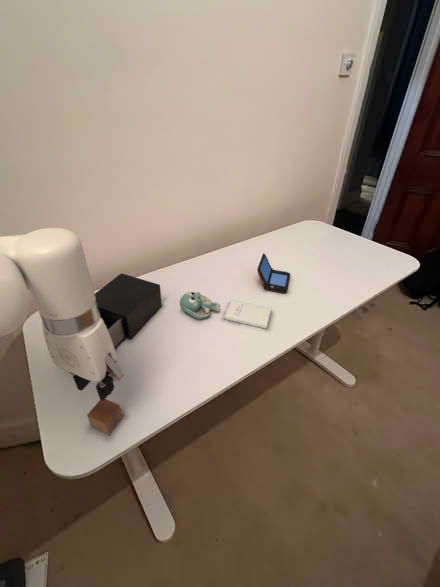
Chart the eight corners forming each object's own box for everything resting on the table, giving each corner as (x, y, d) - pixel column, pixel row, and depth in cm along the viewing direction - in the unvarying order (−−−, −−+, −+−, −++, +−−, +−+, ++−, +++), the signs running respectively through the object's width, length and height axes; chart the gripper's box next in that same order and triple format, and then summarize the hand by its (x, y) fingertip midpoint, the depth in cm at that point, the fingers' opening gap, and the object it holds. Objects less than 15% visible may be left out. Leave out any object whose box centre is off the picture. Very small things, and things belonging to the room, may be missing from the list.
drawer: (87, 379, 69) (81, 361, 65) (46, 362, 72) (38, 343, 69) (139, 325, 84) (136, 307, 80) (103, 312, 88) (99, 295, 84)
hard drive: (266, 329, 86) (224, 319, 88) (270, 311, 92) (231, 303, 95) (267, 325, 85) (224, 315, 87) (271, 307, 91) (231, 299, 94)
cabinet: (131, 339, 81) (126, 316, 76) (90, 324, 85) (83, 302, 80) (162, 306, 92) (160, 284, 87) (125, 294, 96) (121, 273, 91)
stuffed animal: (223, 308, 84) (180, 301, 82) (217, 326, 88) (176, 320, 86) (222, 285, 93) (183, 278, 91) (217, 303, 97) (179, 297, 95)
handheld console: (286, 295, 99) (290, 276, 95) (254, 288, 102) (256, 269, 97) (290, 275, 109) (294, 257, 105) (260, 269, 111) (263, 251, 107)
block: (109, 436, 60) (105, 423, 57) (91, 427, 61) (86, 415, 58) (123, 417, 63) (120, 404, 60) (106, 409, 64) (102, 396, 62)
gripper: (6, 311, 44) (45, 388, 55) (99, 348, 39) (121, 424, 50) (48, 284, 50) (75, 359, 61) (134, 313, 45) (147, 389, 56)
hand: (96, 388), depth 55 cm, fingers open, 4 cm apart
